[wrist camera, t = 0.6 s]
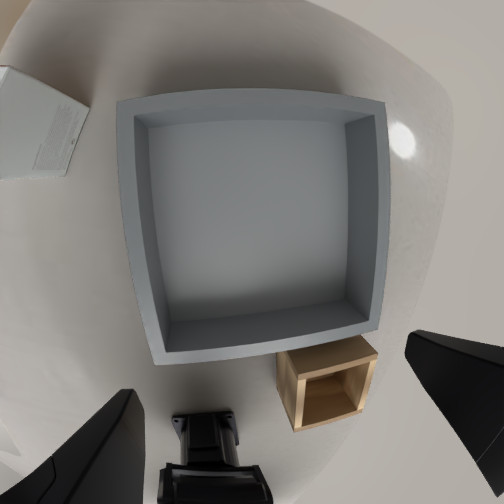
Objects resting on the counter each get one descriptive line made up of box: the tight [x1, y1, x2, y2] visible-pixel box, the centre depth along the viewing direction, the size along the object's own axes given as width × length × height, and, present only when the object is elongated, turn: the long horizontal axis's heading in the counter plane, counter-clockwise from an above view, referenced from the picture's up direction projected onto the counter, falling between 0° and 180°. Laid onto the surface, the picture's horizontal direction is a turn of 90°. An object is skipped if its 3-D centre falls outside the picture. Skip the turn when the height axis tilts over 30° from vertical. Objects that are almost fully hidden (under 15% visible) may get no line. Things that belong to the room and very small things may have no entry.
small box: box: [0, 65, 90, 181], centre depth 10 cm, size 8×6×10 cm
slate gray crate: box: [116, 88, 390, 365], centre depth 17 cm, size 16×16×5 cm
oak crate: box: [277, 334, 378, 432], centre depth 21 cm, size 7×6×6 cm
